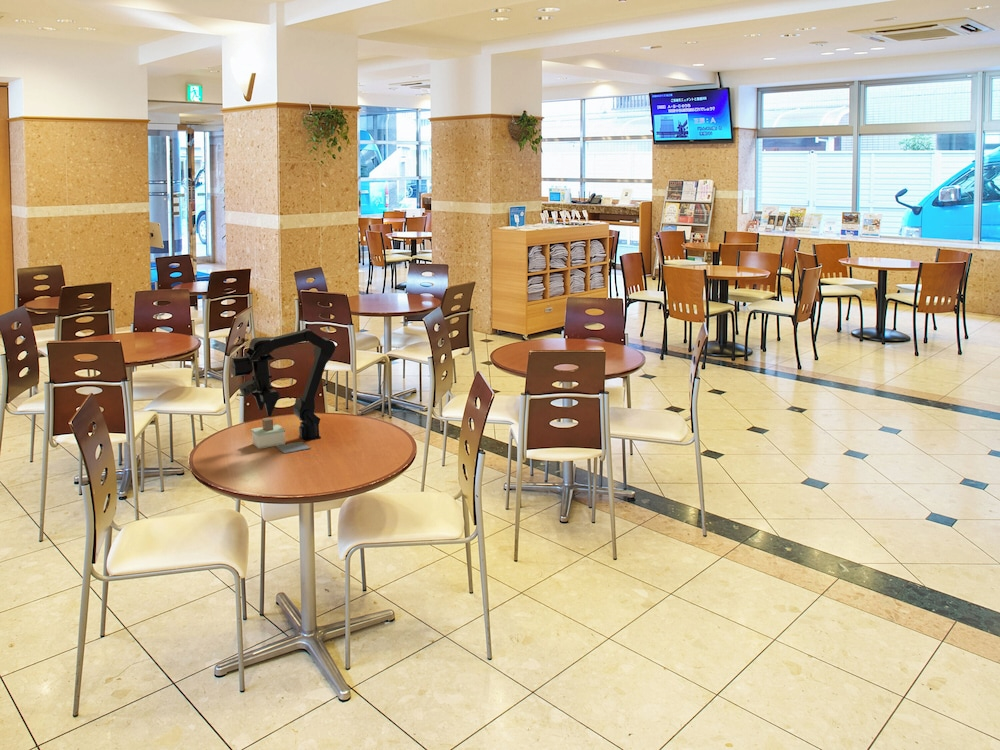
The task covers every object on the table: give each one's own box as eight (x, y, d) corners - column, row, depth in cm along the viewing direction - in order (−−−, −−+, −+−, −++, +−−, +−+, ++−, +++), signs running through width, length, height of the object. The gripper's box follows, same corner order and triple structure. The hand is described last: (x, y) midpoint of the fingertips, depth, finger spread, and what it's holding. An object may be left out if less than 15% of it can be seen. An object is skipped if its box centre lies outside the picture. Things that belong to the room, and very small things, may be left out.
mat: (301, 442, 329) (301, 441, 328) (310, 448, 322) (310, 447, 322) (276, 447, 323) (275, 446, 323) (284, 453, 316) (284, 452, 316)
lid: (278, 429, 331) (277, 414, 330) (285, 434, 325) (284, 419, 324) (251, 433, 326) (250, 418, 324) (258, 438, 320) (257, 423, 318)
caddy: (278, 439, 332) (277, 426, 331) (285, 444, 326) (284, 431, 325) (252, 443, 327) (252, 431, 325) (259, 449, 321) (258, 436, 320)
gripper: (231, 370, 322) (235, 410, 326) (248, 381, 307) (252, 423, 311) (261, 366, 328) (264, 405, 332) (278, 376, 313) (282, 417, 317)
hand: (265, 413), depth 323 cm, fingers open, 9 cm apart
